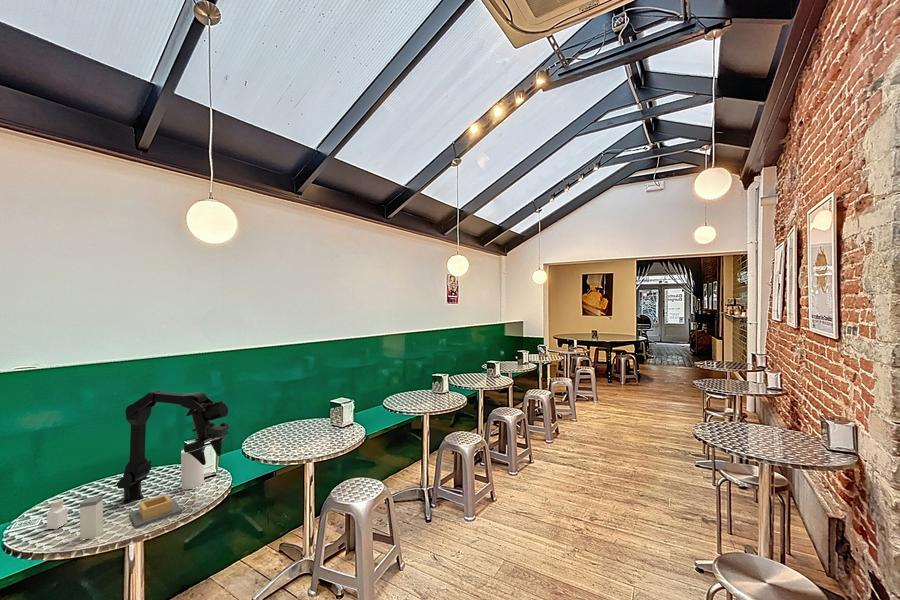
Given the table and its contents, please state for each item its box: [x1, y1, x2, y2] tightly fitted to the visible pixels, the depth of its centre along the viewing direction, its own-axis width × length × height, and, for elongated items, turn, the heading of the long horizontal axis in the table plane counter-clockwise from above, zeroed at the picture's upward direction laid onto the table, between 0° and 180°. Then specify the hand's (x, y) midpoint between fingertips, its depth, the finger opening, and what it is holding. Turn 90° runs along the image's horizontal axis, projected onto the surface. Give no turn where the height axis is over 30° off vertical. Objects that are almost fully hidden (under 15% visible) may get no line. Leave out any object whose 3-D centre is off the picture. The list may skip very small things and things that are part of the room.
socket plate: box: [128, 493, 183, 529], centre depth 147 cm, size 14×14×4 cm
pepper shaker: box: [46, 498, 68, 530], centre depth 140 cm, size 4×4×10 cm
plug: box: [79, 495, 104, 541], centre depth 133 cm, size 4×4×12 cm
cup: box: [180, 449, 205, 491], centre depth 170 cm, size 8×8×16 cm
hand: (212, 460), depth 158 cm, fingers open, 9 cm apart
